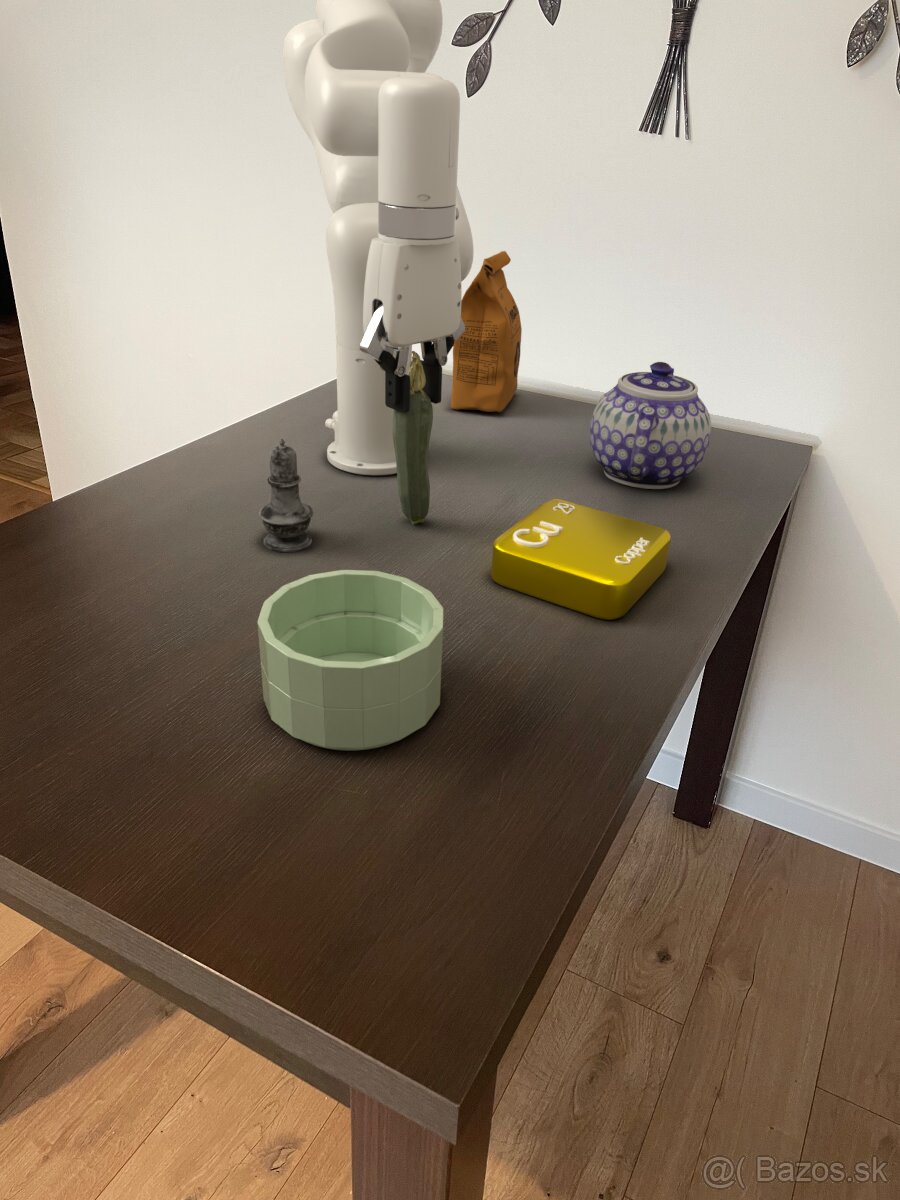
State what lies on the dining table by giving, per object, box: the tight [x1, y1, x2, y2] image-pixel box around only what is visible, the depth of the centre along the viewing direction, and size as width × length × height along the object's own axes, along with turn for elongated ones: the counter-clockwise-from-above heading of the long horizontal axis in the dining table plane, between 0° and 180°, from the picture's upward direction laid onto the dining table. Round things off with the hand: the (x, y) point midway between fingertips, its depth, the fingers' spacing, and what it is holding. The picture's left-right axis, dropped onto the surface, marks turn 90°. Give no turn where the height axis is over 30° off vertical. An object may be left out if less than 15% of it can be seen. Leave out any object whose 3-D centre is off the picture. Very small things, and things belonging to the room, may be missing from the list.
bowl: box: [256, 569, 444, 752], centre depth 76 cm, size 15×15×8 cm
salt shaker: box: [258, 438, 314, 553], centre depth 99 cm, size 6×6×12 cm
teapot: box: [589, 361, 712, 490], centre depth 118 cm, size 25×15×15 cm, turn 160°
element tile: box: [490, 498, 672, 621], centre depth 97 cm, size 15×15×5 cm
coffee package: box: [450, 250, 522, 413], centre depth 139 cm, size 10×12×22 cm
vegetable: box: [393, 350, 434, 525], centre depth 101 cm, size 4×4×20 cm
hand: (413, 402), depth 99 cm, fingers closed on vegetable, 3 cm apart
